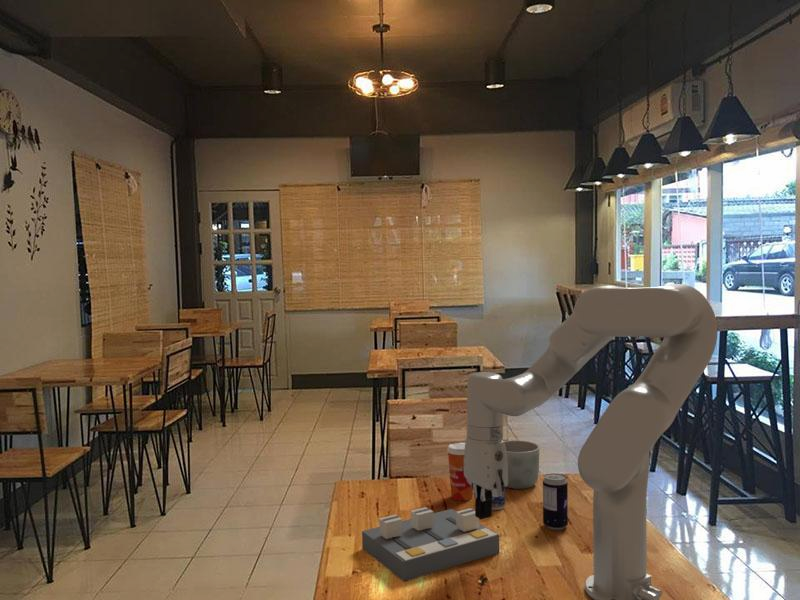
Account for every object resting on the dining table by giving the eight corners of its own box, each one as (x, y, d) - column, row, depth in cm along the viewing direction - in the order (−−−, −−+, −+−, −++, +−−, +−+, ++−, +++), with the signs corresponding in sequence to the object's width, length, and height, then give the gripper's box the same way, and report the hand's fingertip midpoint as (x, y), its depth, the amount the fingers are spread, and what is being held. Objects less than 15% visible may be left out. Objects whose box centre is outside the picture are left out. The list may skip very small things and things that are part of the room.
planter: (492, 490, 185) (492, 451, 184) (497, 476, 197) (496, 439, 196) (539, 493, 182) (538, 453, 181) (540, 478, 194) (540, 441, 193)
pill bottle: (488, 511, 169) (488, 473, 169) (480, 504, 174) (480, 467, 174) (508, 509, 171) (508, 471, 170) (499, 502, 176) (499, 465, 175)
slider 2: (433, 526, 149) (433, 510, 149) (418, 530, 147) (417, 514, 147) (426, 522, 152) (426, 506, 152) (411, 526, 150) (410, 509, 150)
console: (499, 552, 145) (499, 532, 145) (403, 581, 133) (403, 559, 133) (451, 525, 161) (451, 506, 161) (362, 548, 149) (362, 528, 149)
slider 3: (479, 527, 148) (478, 511, 148) (464, 531, 146) (463, 515, 146) (470, 523, 151) (470, 507, 150) (456, 527, 149) (455, 510, 148)
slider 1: (402, 534, 145) (402, 518, 145) (386, 539, 143) (385, 522, 143) (395, 530, 148) (395, 513, 148) (379, 534, 146) (379, 517, 146)
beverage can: (568, 532, 156) (568, 481, 155) (543, 530, 157) (542, 480, 156) (567, 522, 161) (566, 473, 160) (543, 521, 162) (542, 472, 162)
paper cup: (442, 495, 182) (441, 444, 181) (467, 490, 185) (466, 440, 184) (456, 504, 174) (455, 451, 174) (482, 499, 178) (481, 447, 177)
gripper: (522, 438, 137) (520, 525, 138) (477, 421, 149) (476, 502, 151) (492, 443, 133) (491, 533, 134) (449, 426, 146) (448, 508, 147)
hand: (483, 516), depth 142 cm, fingers closed
